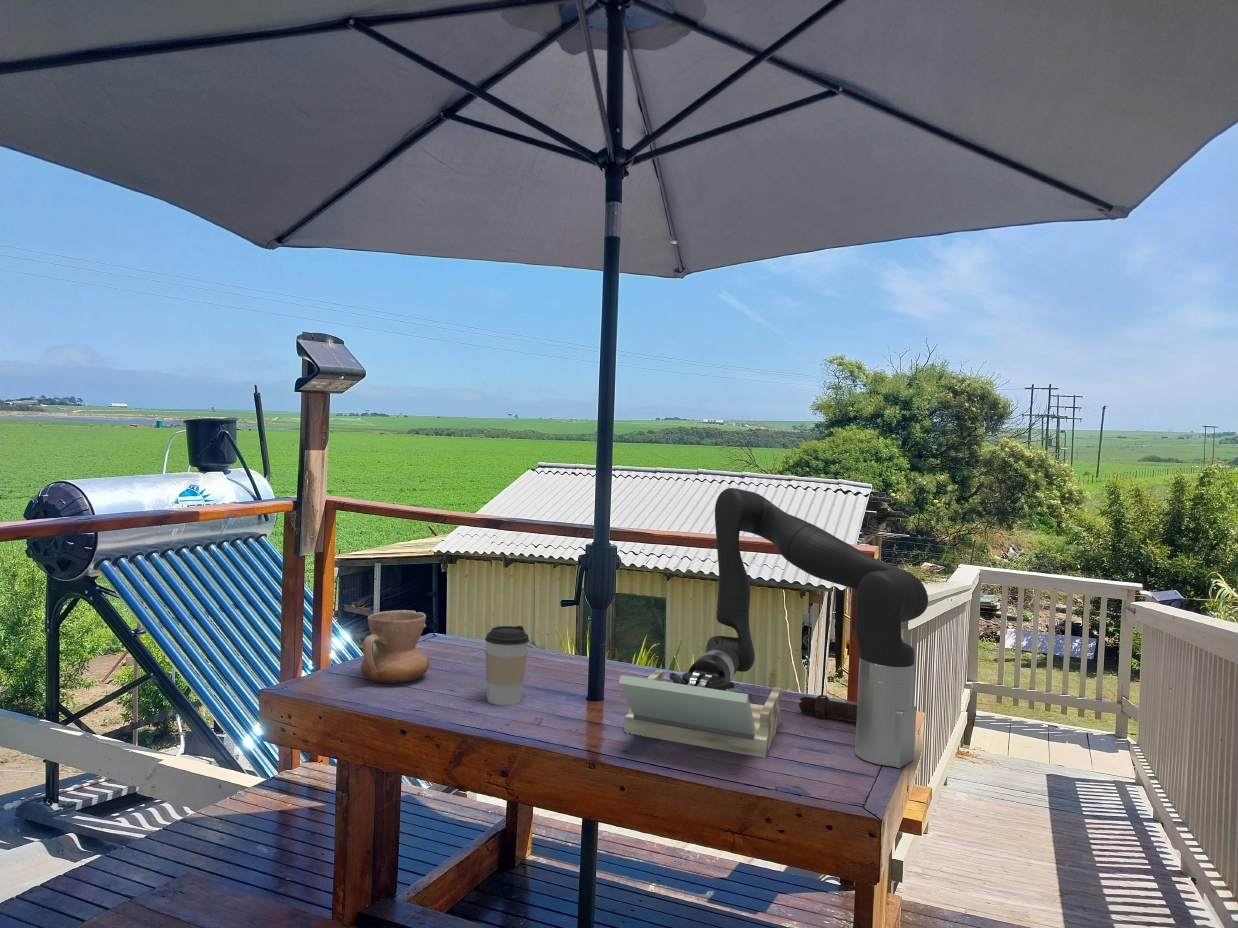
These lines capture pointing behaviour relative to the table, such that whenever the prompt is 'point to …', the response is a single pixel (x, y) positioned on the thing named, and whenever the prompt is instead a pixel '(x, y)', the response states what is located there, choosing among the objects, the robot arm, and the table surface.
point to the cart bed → (763, 720)
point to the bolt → (828, 708)
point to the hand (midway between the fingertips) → (688, 698)
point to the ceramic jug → (394, 647)
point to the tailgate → (689, 706)
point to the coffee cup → (505, 664)
